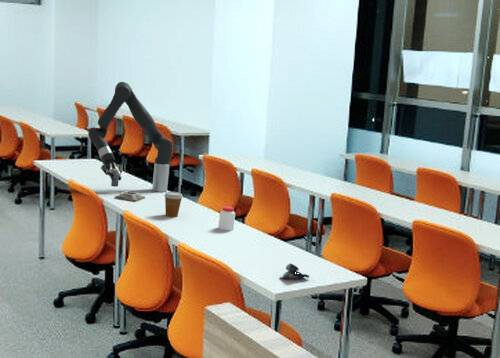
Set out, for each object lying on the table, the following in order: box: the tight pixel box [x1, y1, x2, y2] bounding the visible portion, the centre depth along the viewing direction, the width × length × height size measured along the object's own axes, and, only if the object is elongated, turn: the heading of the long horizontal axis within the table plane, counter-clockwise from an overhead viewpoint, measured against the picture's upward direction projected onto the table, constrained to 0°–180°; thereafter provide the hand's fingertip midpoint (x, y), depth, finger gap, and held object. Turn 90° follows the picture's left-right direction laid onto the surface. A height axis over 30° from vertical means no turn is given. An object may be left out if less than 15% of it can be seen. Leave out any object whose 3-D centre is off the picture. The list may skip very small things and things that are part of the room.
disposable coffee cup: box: [164, 191, 184, 218], centre depth 340 cm, size 10×10×12 cm
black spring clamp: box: [279, 262, 310, 280], centre depth 258 cm, size 12×6×12 cm
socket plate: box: [114, 190, 146, 203], centre depth 372 cm, size 13×13×3 cm
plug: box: [110, 169, 120, 188], centre depth 381 cm, size 4×4×10 cm
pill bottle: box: [217, 205, 236, 231], centre depth 326 cm, size 8×8×11 cm
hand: (117, 179), depth 379 cm, fingers closed on plug, 4 cm apart
